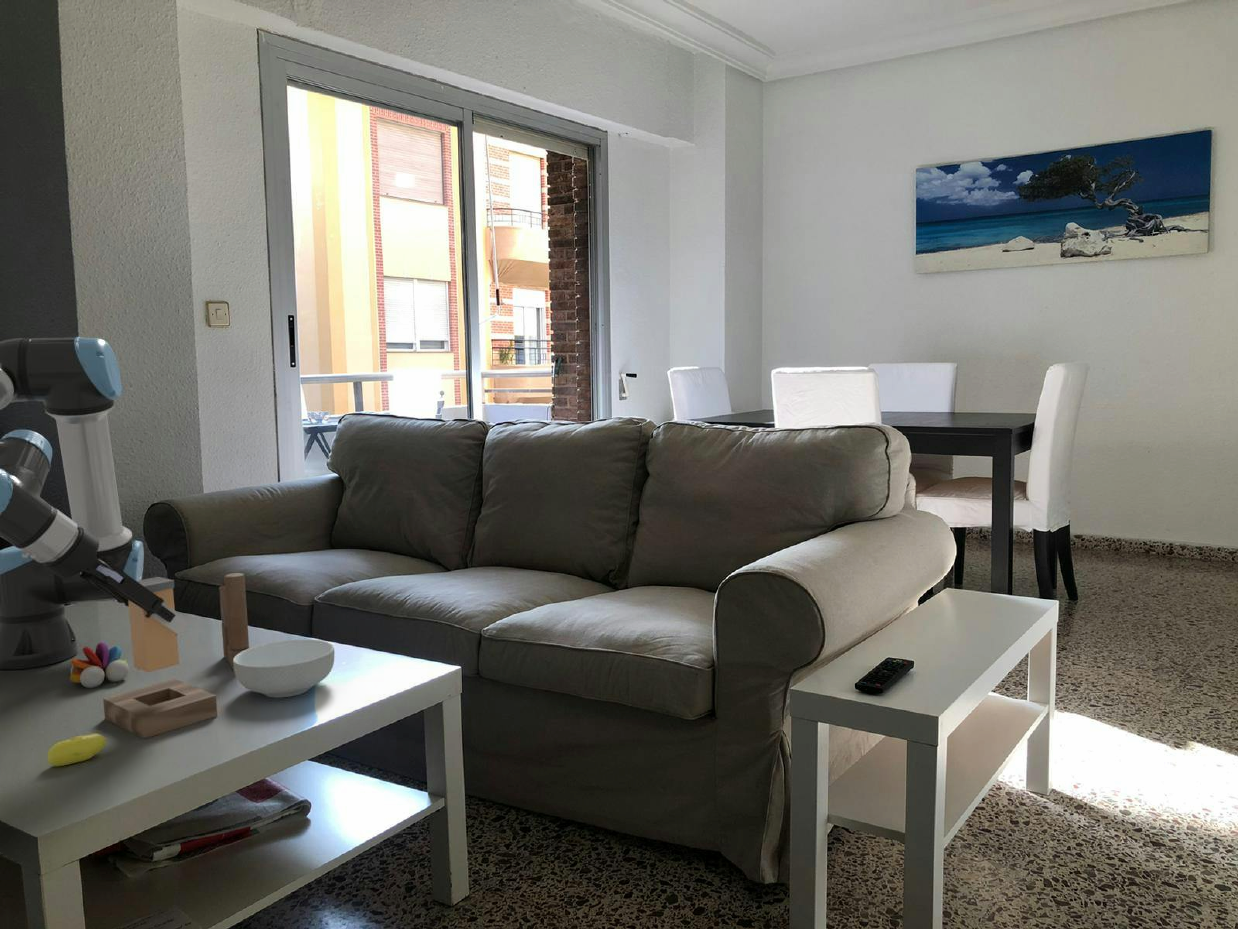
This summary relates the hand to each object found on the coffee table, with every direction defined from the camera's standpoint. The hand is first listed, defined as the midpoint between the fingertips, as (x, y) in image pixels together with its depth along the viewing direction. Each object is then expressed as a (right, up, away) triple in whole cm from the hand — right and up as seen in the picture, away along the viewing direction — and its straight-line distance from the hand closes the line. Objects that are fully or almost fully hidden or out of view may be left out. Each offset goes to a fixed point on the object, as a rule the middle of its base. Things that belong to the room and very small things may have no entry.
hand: (175, 625), depth 160 cm
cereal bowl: (+15, -14, +11) cm, 23 cm away
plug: (-2, -6, -2) cm, 7 cm away
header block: (-2, -15, -1) cm, 15 cm away
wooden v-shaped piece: (-1, -12, +28) cm, 30 cm away
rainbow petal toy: (-22, -14, +18) cm, 32 cm away
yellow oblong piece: (-6, -17, -18) cm, 26 cm away
